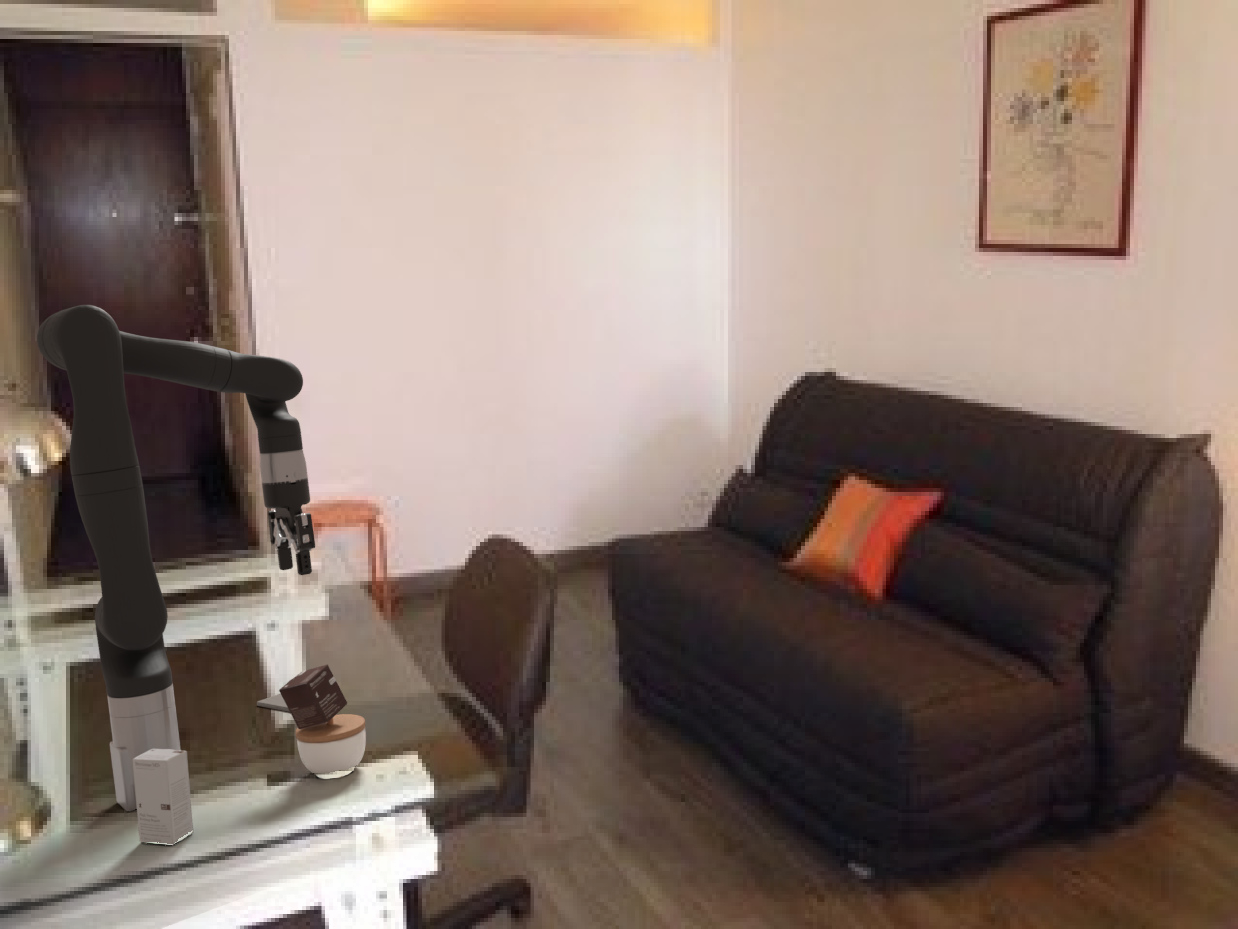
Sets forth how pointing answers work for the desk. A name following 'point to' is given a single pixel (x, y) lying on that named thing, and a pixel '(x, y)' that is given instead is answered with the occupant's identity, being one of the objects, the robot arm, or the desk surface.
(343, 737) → the lidded jar
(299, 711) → the box
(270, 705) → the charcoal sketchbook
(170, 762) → the skincare box
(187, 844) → the desk surface
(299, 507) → the robot arm
